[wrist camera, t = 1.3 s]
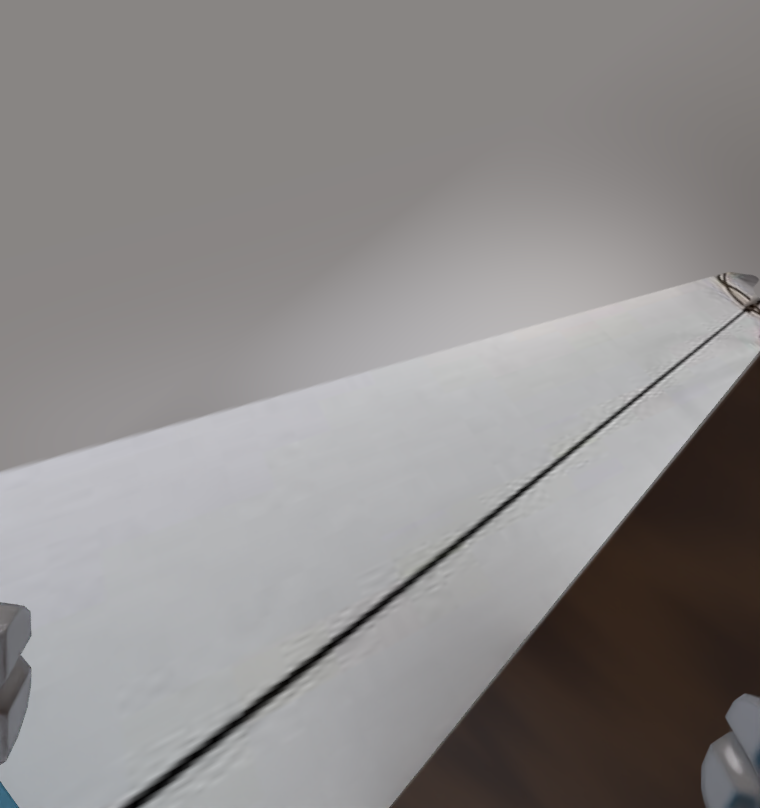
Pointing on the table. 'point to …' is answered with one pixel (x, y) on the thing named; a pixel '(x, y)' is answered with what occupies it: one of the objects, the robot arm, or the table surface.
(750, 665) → the stand
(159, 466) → the table surface
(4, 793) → the blue open box
